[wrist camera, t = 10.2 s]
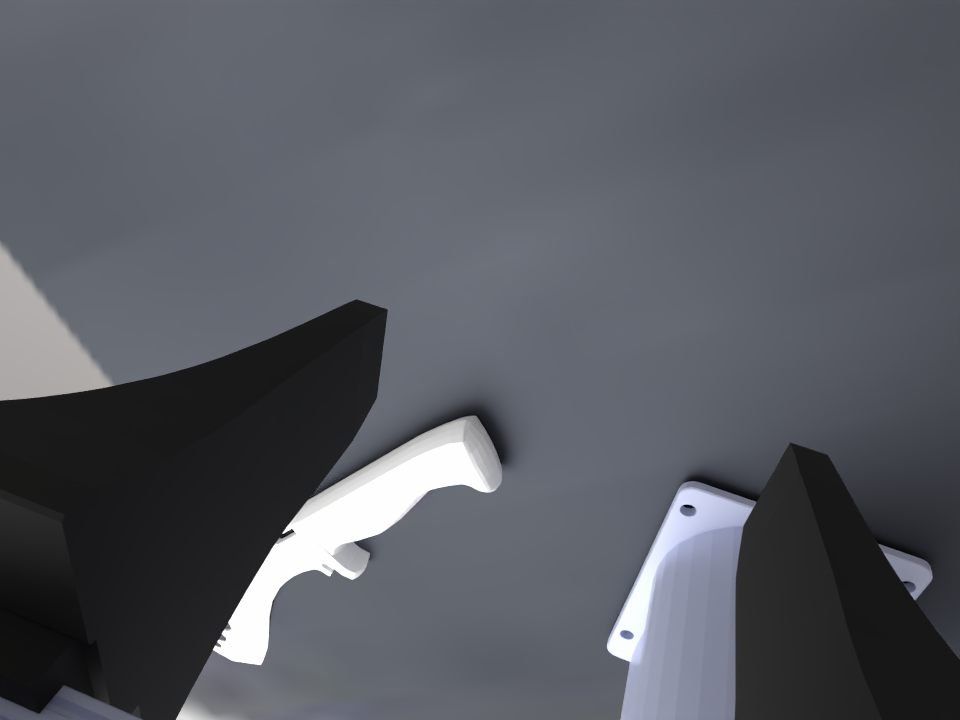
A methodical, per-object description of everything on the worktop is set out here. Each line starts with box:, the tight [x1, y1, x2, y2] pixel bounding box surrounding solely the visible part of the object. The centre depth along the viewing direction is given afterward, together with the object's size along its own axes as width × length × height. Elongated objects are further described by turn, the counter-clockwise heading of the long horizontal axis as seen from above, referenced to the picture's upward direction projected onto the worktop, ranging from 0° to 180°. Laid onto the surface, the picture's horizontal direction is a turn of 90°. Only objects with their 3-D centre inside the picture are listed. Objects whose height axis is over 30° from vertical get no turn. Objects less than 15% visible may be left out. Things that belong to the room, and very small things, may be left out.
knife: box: [213, 416, 502, 665], centre depth 35 cm, size 30×2×8 cm
